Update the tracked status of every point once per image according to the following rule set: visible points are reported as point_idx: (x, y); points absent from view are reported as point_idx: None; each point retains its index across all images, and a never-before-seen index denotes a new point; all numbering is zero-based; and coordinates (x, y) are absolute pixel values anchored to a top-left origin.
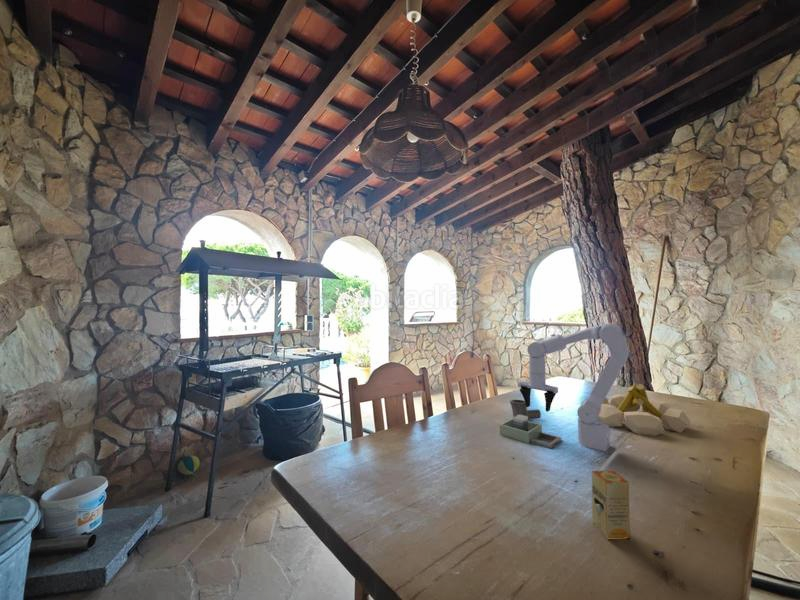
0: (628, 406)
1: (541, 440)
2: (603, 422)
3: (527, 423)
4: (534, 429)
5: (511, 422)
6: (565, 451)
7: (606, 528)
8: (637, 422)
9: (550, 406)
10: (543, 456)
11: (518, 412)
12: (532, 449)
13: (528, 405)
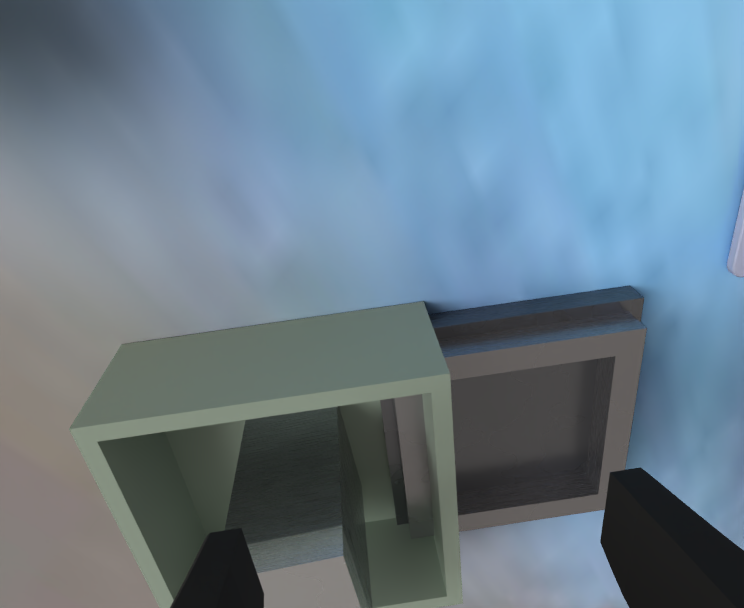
0: None
1: (493, 430)
2: None
3: (343, 497)
4: (457, 516)
5: (136, 477)
6: (678, 399)
7: None
8: None
9: (706, 528)
10: (580, 548)
11: None
12: (486, 528)
13: (252, 595)
